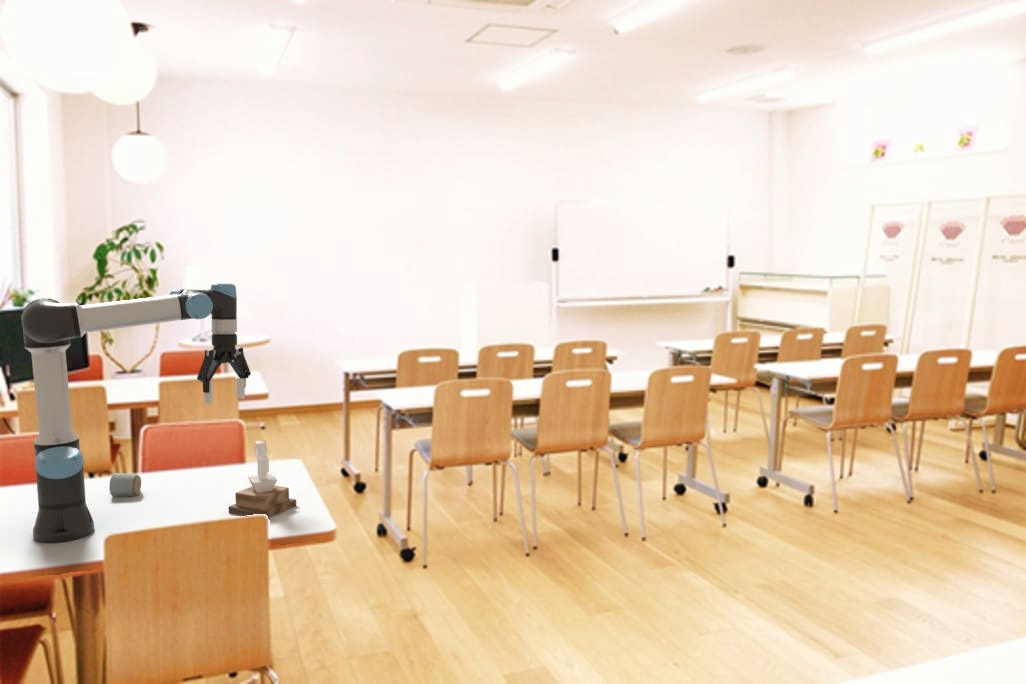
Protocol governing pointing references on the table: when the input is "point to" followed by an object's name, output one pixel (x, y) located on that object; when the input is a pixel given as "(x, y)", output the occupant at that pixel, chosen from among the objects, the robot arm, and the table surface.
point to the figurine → (262, 470)
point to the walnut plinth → (268, 512)
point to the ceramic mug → (125, 484)
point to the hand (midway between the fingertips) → (225, 401)
